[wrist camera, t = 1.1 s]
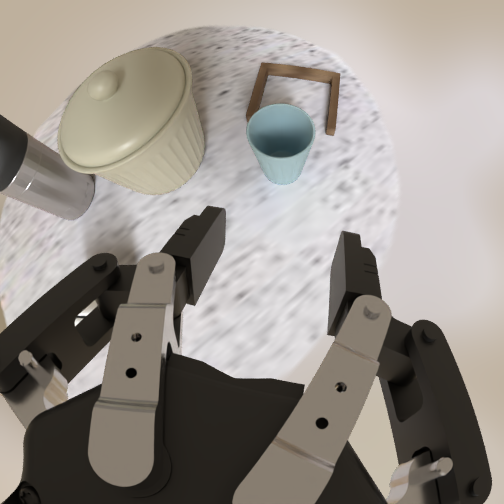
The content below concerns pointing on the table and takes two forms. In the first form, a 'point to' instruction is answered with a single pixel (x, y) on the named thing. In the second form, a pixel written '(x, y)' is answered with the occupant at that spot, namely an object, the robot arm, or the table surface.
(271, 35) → the table surface
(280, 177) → the cup
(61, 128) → the canister
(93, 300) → the robot arm
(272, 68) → the walnut bay
